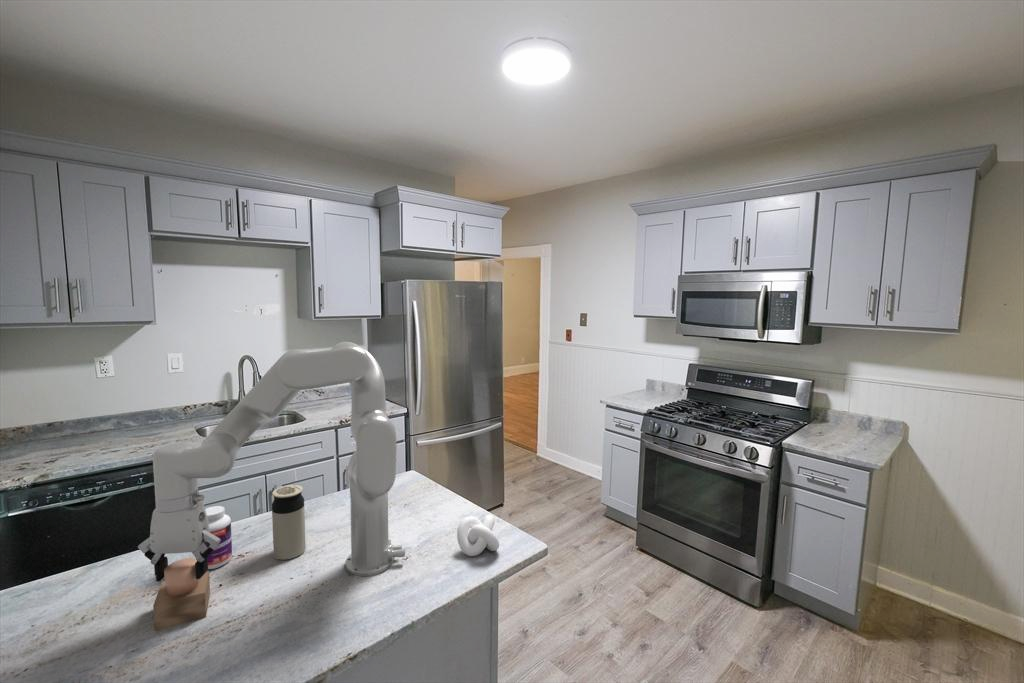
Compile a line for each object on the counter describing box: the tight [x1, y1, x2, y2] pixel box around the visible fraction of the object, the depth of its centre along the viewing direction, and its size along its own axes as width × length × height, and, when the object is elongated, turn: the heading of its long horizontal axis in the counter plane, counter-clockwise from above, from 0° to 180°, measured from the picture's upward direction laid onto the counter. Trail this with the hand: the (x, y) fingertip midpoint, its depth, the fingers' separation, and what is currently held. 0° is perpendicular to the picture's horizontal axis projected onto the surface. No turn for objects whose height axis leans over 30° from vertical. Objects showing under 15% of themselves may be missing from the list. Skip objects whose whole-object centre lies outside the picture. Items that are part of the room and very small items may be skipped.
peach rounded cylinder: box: [163, 557, 199, 596], centre depth 100 cm, size 6×6×5 cm
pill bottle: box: [195, 505, 233, 570], centre depth 119 cm, size 8×8×14 cm
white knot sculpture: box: [456, 514, 500, 557], centre depth 127 cm, size 11×12×9 cm
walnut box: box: [152, 570, 211, 632], centre depth 101 cm, size 9×9×6 cm
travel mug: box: [271, 484, 307, 560], centre depth 124 cm, size 8×8×18 cm
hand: (182, 576), depth 100 cm, fingers open, 7 cm apart
